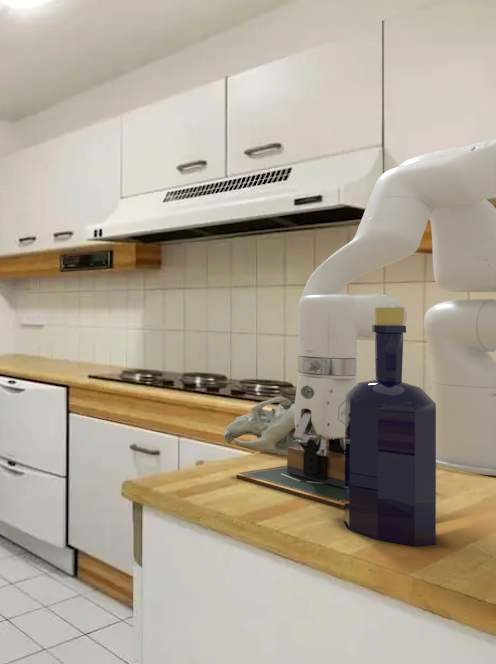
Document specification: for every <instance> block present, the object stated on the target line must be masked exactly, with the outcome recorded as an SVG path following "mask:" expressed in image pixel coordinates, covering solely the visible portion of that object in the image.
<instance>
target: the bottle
mask: <svg viewBox="0 0 496 664" xmlns="http://www.w3.org/2000/svg"><path fill="white" fill-rule="evenodd" d="M403 320H404V308H400V307H390V308H375V325H372V332H375V338H374V358H375V359H374V363H375V366H374V367H375V379H372V380H365V381H359V382H357V383H358V384H357V385H356V386H355V387H353V388H352V389H351V390H350V391H349V392H348V393H347V394H346V406H345V500H344V501H345V503H344V505H345V510H344V520H343V523H344V526H345V527H346V528H347V530H350V531H351V532H352V531H353V532H354V533H358V534H360V535H363V536H366V537H368V538H371V539H374V540H377V541H383V542H388V543H393V544H400V545H405V546H410V547H411V546H412V547H424V546H435V545H438V543H437V539H436V538H437V466H436V403H435V402H434V401H433V400H432V399H431V396H429V395H428V393H426V391H424V390H423V388H421V387H419V386H417V385H414V384H411V383H407V382H403V357H404V356H403V355H404V334H406V333H407V325H403Z"/></svg>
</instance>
